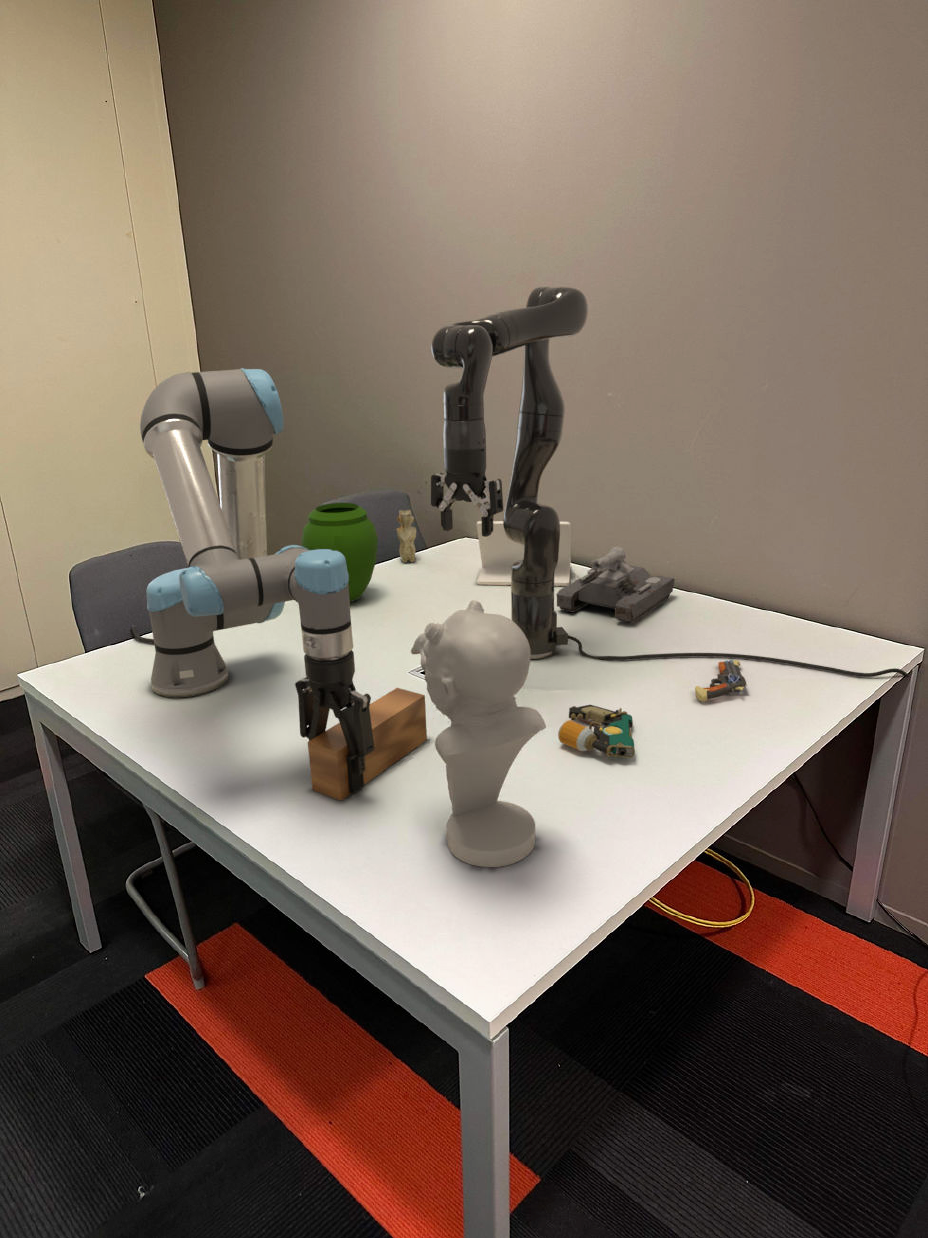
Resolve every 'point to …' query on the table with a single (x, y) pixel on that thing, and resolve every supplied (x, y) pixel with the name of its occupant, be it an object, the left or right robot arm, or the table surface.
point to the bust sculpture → (481, 729)
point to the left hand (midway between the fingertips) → (340, 783)
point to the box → (394, 737)
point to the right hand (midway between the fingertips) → (467, 532)
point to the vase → (345, 540)
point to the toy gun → (723, 682)
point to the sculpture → (406, 535)
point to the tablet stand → (516, 556)
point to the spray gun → (599, 731)
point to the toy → (616, 588)
